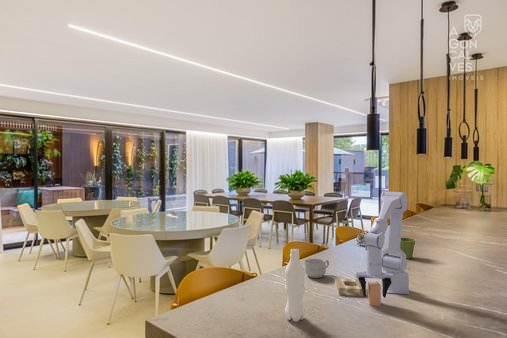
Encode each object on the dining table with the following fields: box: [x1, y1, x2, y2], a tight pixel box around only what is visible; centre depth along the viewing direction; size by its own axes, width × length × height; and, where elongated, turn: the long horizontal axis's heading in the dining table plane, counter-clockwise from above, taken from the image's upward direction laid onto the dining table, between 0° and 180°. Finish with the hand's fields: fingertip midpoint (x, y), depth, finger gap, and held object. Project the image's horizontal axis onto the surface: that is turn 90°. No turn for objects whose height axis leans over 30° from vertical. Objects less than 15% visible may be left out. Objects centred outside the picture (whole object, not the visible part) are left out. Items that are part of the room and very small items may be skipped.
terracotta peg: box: [367, 281, 382, 306], centre depth 129 cm, size 4×4×8 cm
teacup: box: [303, 258, 330, 279], centre depth 162 cm, size 14×11×8 cm
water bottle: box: [284, 248, 306, 323], centre depth 116 cm, size 7×7×25 cm
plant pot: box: [400, 236, 417, 260], centre depth 195 cm, size 12×12×11 cm
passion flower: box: [353, 231, 367, 246], centre depth 226 cm, size 11×11×12 cm
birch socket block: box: [334, 277, 368, 297], centre depth 142 cm, size 12×12×3 cm
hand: (374, 296), depth 129 cm, fingers open, 7 cm apart
